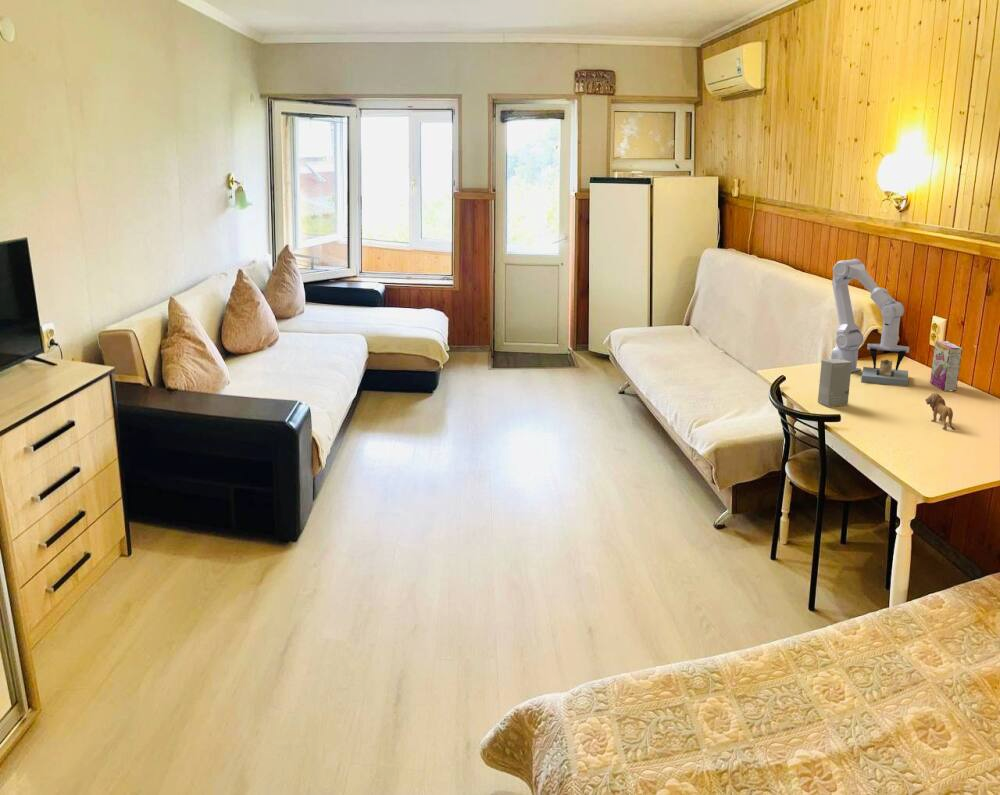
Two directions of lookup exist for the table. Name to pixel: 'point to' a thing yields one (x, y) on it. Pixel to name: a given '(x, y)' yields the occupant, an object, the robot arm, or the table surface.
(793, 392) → the table surface
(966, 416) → the table surface
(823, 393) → the skincare box
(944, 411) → the lion figurine
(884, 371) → the keyed plug
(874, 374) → the socket plate
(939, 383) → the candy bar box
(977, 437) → the table surface
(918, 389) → the table surface
